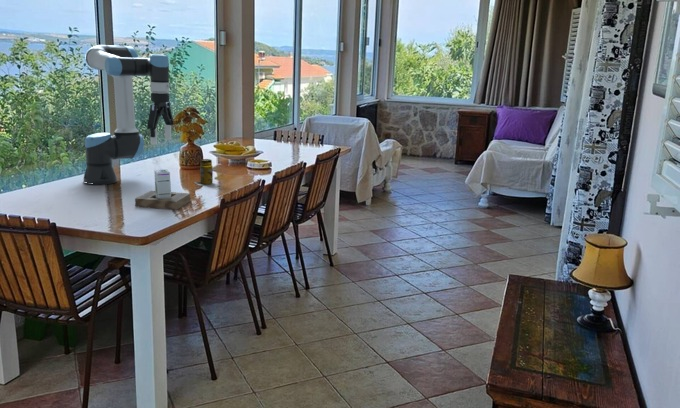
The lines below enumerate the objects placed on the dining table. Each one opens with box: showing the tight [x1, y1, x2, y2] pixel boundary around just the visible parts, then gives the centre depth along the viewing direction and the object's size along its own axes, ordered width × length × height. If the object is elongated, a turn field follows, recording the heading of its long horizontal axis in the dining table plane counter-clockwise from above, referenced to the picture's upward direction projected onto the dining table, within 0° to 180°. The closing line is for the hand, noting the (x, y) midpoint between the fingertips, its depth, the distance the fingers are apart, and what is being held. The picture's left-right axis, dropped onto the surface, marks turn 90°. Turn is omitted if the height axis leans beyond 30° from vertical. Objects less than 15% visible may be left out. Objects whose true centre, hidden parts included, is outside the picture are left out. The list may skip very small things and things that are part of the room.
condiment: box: [194, 158, 215, 186], centre depth 293 cm, size 7×8×12 cm
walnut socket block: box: [134, 190, 191, 211], centre depth 253 cm, size 18×15×4 cm
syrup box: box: [154, 169, 172, 199], centre depth 252 cm, size 6×6×14 cm
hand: (161, 142), depth 255 cm, fingers open, 13 cm apart
